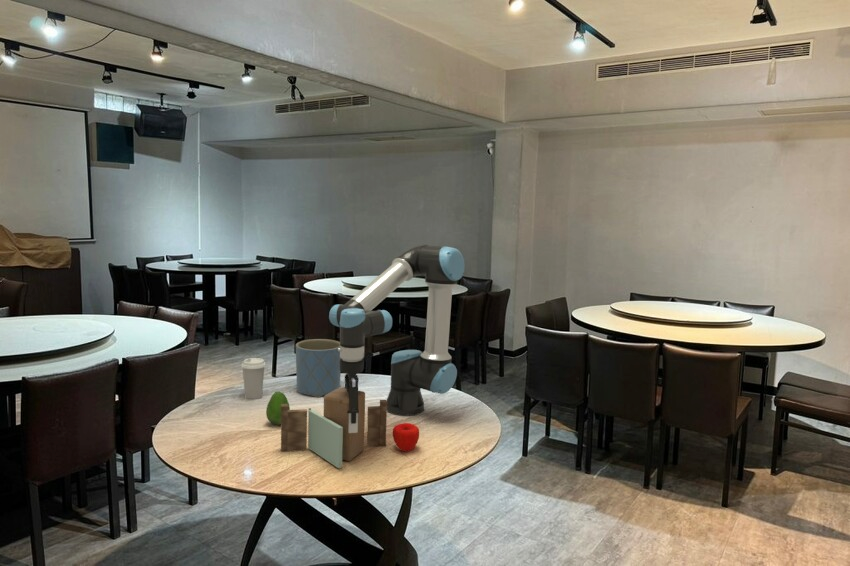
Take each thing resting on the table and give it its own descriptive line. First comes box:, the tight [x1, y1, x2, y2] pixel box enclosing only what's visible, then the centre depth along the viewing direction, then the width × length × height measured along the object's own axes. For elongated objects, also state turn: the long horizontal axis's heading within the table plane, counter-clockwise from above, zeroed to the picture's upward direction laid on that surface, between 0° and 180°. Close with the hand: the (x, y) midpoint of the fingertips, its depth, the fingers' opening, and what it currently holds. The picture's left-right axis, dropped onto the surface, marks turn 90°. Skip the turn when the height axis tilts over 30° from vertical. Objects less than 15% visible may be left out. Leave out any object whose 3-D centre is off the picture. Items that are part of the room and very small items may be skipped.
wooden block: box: [323, 386, 366, 462], centre depth 182 cm, size 10×10×20 cm
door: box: [307, 407, 343, 469], centre depth 179 cm, size 19×1×13 cm, turn 41°
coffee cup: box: [240, 357, 267, 400], centre depth 231 cm, size 10×10×15 cm
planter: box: [295, 338, 342, 398], centre depth 241 cm, size 19×19×20 cm
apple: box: [392, 422, 420, 452], centre depth 188 cm, size 9×9×8 cm
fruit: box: [265, 391, 291, 426], centre depth 205 cm, size 8×8×12 cm
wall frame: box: [280, 399, 388, 453], centre depth 187 cm, size 34×2×15 cm, turn 103°
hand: (350, 424), depth 182 cm, fingers open, 12 cm apart
